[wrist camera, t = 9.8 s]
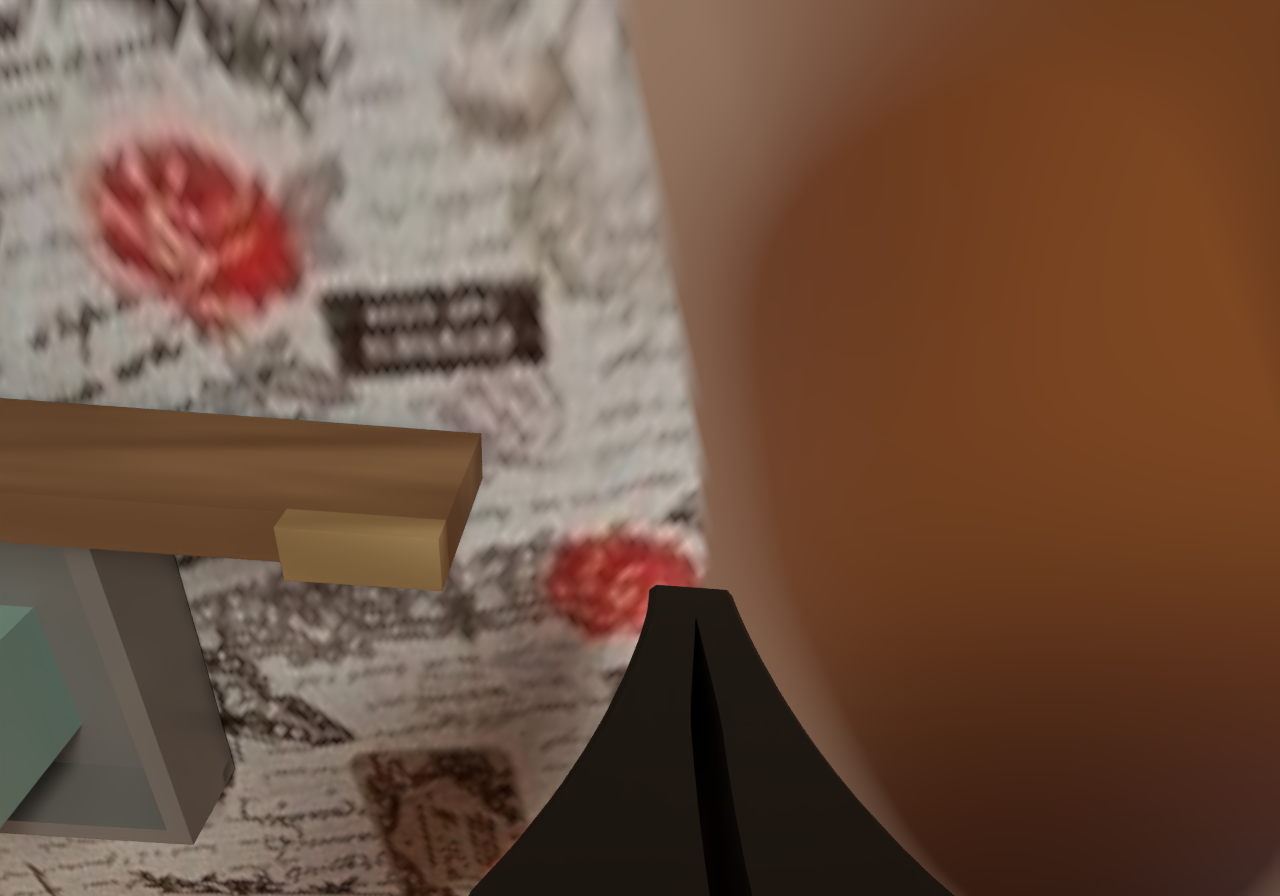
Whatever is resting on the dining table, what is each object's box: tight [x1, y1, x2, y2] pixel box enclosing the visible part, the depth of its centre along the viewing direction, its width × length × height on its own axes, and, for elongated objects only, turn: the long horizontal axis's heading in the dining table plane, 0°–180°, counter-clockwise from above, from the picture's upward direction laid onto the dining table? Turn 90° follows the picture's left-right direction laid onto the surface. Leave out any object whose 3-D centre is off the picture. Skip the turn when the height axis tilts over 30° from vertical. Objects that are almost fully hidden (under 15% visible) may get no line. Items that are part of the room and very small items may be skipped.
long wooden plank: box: [0, 398, 482, 591], centre depth 16 cm, size 1×16×4 cm, turn 86°
